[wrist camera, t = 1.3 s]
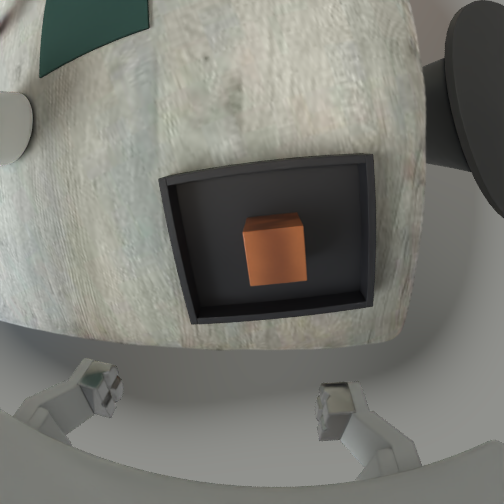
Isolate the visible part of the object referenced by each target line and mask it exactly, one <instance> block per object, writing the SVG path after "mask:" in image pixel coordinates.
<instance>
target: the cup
mask: <svg viewBox="0 0 504 504" xmlns="http://www.w3.org/2000/svg"><path fill="white" fill-rule="evenodd" d="M32 125H33V114H32V108H31V105H30V102H29V100H28V99H27V98H26V97H25V96H24V95H23V94H21V93H18V92H3V91H0V166H4V165H9V164H11V163H13V162H15V161H16V160H17V159H18V158H19V157H20V156H21V155H22V154H23V152H24V150H25V149H26V147H27V145H28V142H29V139H30V136H31V132H32Z"/></svg>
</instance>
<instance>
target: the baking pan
mask: <svg viewBox="0 0 504 504" xmlns="http://www.w3.org/2000/svg"><path fill="white" fill-rule="evenodd" d="M158 180H159V186H160V191H161V197H162V202H163V207H164V212H165V217H166V222H167V227H168V232H169V236H170V241H171V246H172V250H173V254H174V259H175V263H176V267H177V271H178V275H179V279H180V283H181V287H182V291H183V295H184V299H185V303H186V307H187V310H188V314H189V318H190V321H191V324H213V323H229V322H243V321H256V320H267V319H278V318H288V317H297V316H306V315H315V314H323V313H331V312H339V311H346V310H353V309H360V308H366V307H372V306H373V298H374V283H375V262H376V196H375V175H374V160H373V154H364V153H359V154H338V155H322V156H308V157H296V158H286V159H276V160H267V161H258V162H250V163H243V164H235V165H228V166H221V167H215V168H209V169H202V170H196V171H191V172H185V173H180V174H174V175H169V176H166V177H163V178H160V179H158ZM295 212H297V213H298V216H299V218H300V220H301V222H302V224H303V227H304V240H305V254H306V269H307V280H306V281H298V282H289V283H279V284H269V285H259V286H250V280H249V273H248V266H247V260H246V253H245V246H244V239H243V229H244V226H245V222H246V218H249V217H258V216H267V215H276V214H285V213H295Z"/></svg>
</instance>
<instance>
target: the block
mask: <svg viewBox="0 0 504 504" xmlns="http://www.w3.org/2000/svg"><path fill="white" fill-rule="evenodd" d="M243 239H244V246H245V253H246V260H247V266H248V273H249V280H250V286H259V285H269V284H279V283H289V282H298V281H306V280H307V269H306V254H305V240H304V227H303V224H302V222H301V220H300V218H299V216H298V213H297V212H295V213H285V214H276V215H267V216H258V217H249V218H246V222H245V226H244V229H243Z"/></svg>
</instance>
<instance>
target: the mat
mask: <svg viewBox="0 0 504 504" xmlns="http://www.w3.org/2000/svg"><path fill="white" fill-rule="evenodd" d="M148 28H149V11H148V0H46V5H45V11H44V18H43V26H42V35H41V47H40V69H39V78H42V77H43V76H45V75H47V74H48V73H50V72H52V71H54V70H55V69H57V68H59V67H61V66H63V65H64V64H66V63H68V62H70V61H72V60H74V59H76V58H78V57H80V56H82V55H84V54H86V53H88V52H90V51H92V50H94V49H97V48H99V47H101V46H103V45H106V44H108V43H111V42H113V41H115V40H118V39H120V38H123V37H126V36H128V35H131V34H134V33H137V32H139V31H142V30H145V29H148Z"/></svg>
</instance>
